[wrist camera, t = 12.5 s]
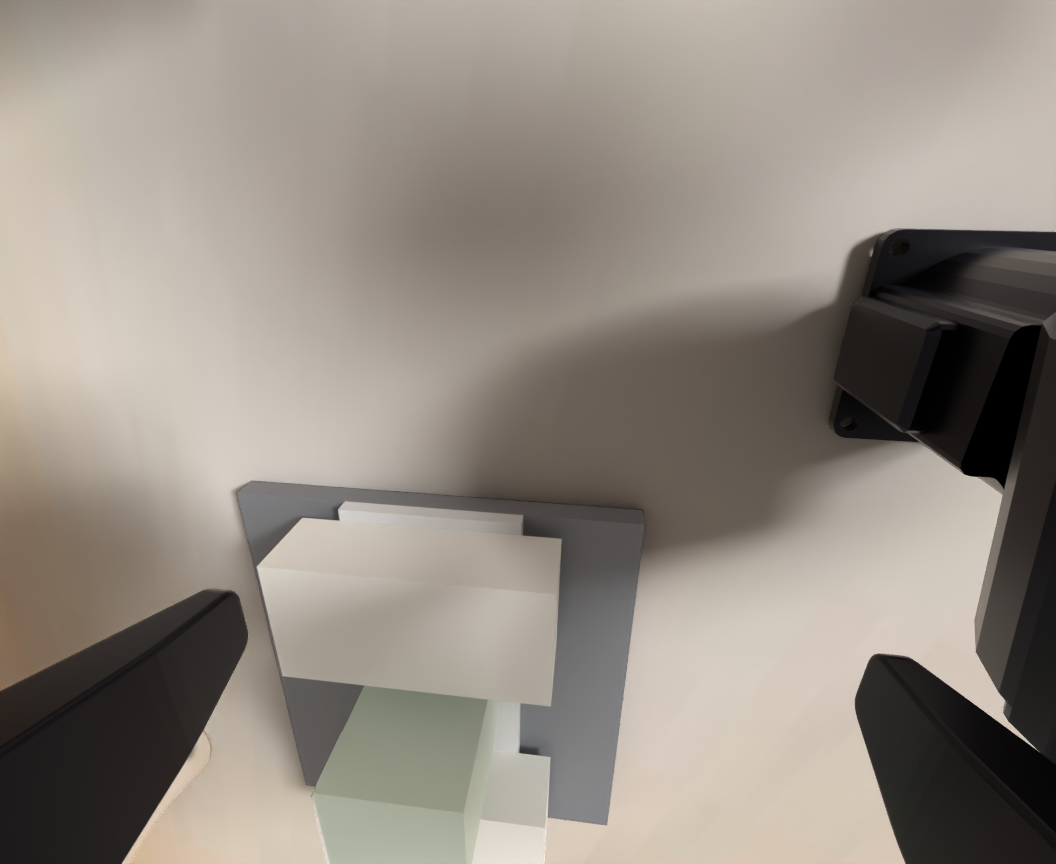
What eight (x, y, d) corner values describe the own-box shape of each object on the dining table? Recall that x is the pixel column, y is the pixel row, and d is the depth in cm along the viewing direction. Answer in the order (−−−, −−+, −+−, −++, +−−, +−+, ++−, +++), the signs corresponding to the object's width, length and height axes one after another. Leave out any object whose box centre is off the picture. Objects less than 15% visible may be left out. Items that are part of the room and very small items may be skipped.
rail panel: (642, 510, 20) (655, 590, 16) (606, 804, 27) (608, 913, 23) (251, 480, 22) (169, 546, 17) (315, 766, 29) (267, 862, 25)
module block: (495, 661, 22) (463, 812, 16) (496, 727, 24) (468, 885, 18) (381, 650, 22) (312, 793, 17) (390, 715, 24) (329, 865, 19)
